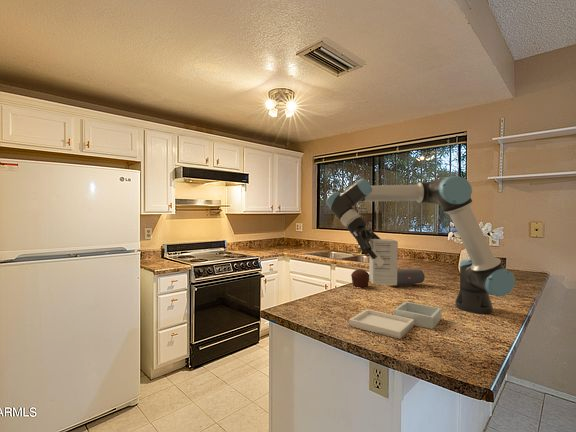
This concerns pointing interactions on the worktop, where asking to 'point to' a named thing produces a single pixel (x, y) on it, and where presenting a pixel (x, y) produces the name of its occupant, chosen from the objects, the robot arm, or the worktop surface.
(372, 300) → the worktop surface
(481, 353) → the worktop surface
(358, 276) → the muffin
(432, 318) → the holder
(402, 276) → the bluetooth speaker
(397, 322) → the tray
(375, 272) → the supplement box
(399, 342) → the worktop surface
